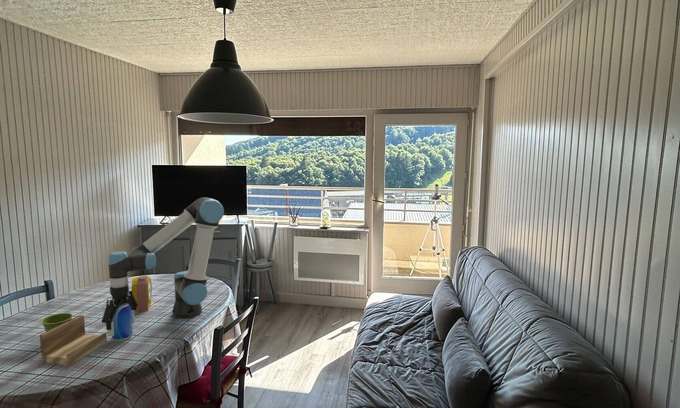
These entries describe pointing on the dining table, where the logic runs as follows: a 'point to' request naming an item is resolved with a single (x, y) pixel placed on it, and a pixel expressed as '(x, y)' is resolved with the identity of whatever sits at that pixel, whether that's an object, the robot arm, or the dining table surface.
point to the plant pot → (55, 320)
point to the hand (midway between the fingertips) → (121, 329)
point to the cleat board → (69, 342)
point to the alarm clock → (142, 292)
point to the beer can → (122, 323)
